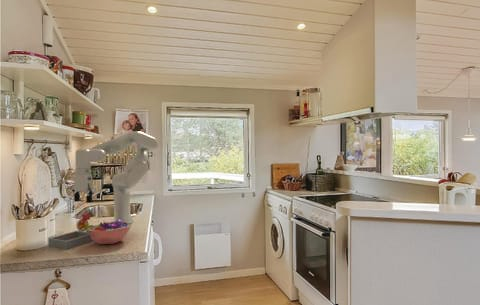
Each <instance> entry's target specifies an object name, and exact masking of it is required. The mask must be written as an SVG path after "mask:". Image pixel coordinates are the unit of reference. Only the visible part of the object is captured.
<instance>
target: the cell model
mask: <svg viewBox="0 0 480 305" xmlns="http://www.w3.org/2000/svg"><path fill="white" fill-rule="evenodd" d="M131 228H132V223H126V222H122V221H121V220H120V219H117V222H112V221H110V222H107V221H104V222H100V223H99V224H96V225H93V226H92V227H90V228H88V233H89V235H90V236H91V238H92V239H93V241H94V242H96V243H97V244H99V245H113V244H117V243H119V242H122V241H123V240H125V238H126V237H127V235H128V233H129V231H130V229H131Z"/></svg>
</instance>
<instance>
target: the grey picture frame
mask: <svg viewBox="0 0 480 305" xmlns="http://www.w3.org/2000/svg"><path fill="white" fill-rule="evenodd" d="M93 241H94V240H93V239H92V238H91V236H90V235H89V233H88V232H86V231H79V230H74V231H71V232H67V233H63V234H59V235H57V236H53V237H49V238H48V242H47V243H48V247H53V248H59V249H63V250H69V249H72V248H74V247H77V246H81V245H83V244H86V243H89V242H93Z"/></svg>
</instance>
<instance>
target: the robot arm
mask: <svg viewBox="0 0 480 305" xmlns="http://www.w3.org/2000/svg"><path fill="white" fill-rule="evenodd" d="M134 145H135V146H136V148H135V149H136V153H135V155H134V156H133V157H132V158H131V159H130V160H129V161H128V162H127V163H126V165H125V167H124V172H117V173H115V174H114V175H113V177H112V179H111V185H112V188H113V189H112V190H113V216H114V217H113V218H114V219H113V220H112V221H111V222H117V219H120V220H121V221H122V222H126V223H130V224H132V223H134V220H133V218H136V216H137V215H136V213H133V214H132V213H131V192H130V189H131V190H132V189H134V188H135V187H137V186H138V185H139V184H140V183H141V182H142V180H143V179H145V178H144V177H145V176H146V175H147V174H148V172H149V165H148V163H147V162H148V160H149V152H148V151H155V150H157V149H158V147H159V142H158V139H157V138H155V137H153V136H151V135H148V134H146V133H144V132H142V131H138V130H137V131H127V132H125V133H123V134H121V135H119V136H117V137H115V138H113V139H110V140H108V141H105V142H102V143H100V144H96V145H94V146H92V147H90V148H88V149H82V148H81V149H76V150H75V167H74V168H75V170H74V171H75V175H74V182H73V185H72V186H71V190H72V193H73V202H75V203H76V202H80V201H81V194H80V193H86V195H85V196H86V197H85V198H86V199H85V200H86V204H88V203H89V204H90V203H93V195H94V193H95V189H96V188H95V186H94V180H93V174H92V171H91V168H92V166H91V165H92V164H91V163H101V162H104V161H105V159H106V158H107V155H111V154H116V153H119V152H122V151H123V150H126V149H127V148H130V147H131V146H134Z"/></svg>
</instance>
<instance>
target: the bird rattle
mask: <svg viewBox="0 0 480 305" xmlns="http://www.w3.org/2000/svg"><path fill="white" fill-rule="evenodd" d="M91 216H92V214H85V213H81V217H82V218H80V219H79V220H78V221H77V222H76V229H77V231H82V232H88V228H90V227H92V226H94V225H93V224H89V220H91Z"/></svg>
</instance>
